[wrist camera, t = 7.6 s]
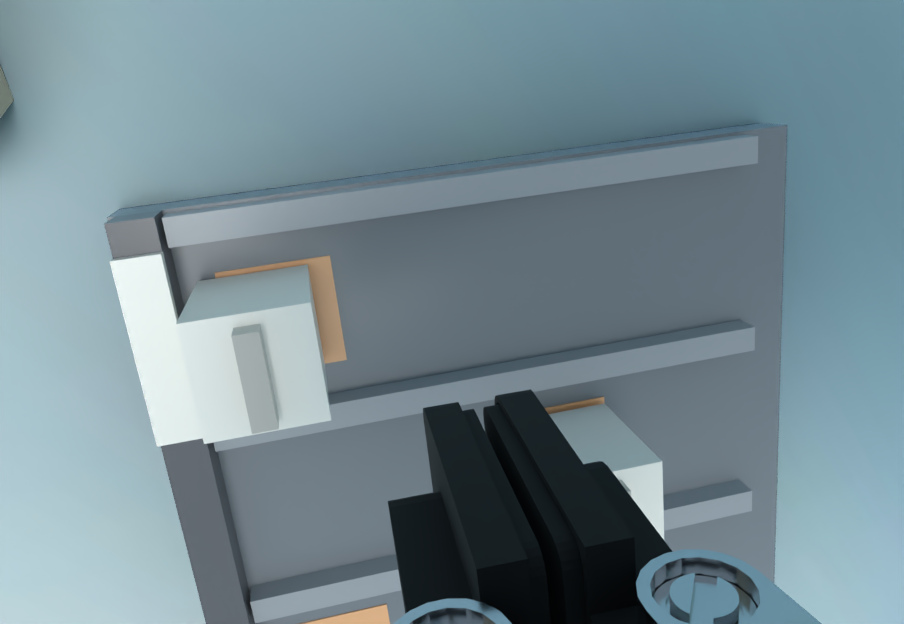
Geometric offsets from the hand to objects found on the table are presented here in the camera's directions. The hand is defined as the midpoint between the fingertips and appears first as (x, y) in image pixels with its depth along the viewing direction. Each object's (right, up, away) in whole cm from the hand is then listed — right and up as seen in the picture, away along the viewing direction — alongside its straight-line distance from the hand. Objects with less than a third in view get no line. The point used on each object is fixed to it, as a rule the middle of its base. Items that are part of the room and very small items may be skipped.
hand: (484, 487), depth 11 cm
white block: (-6, +2, +10) cm, 12 cm away
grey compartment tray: (+1, -2, +14) cm, 14 cm away
